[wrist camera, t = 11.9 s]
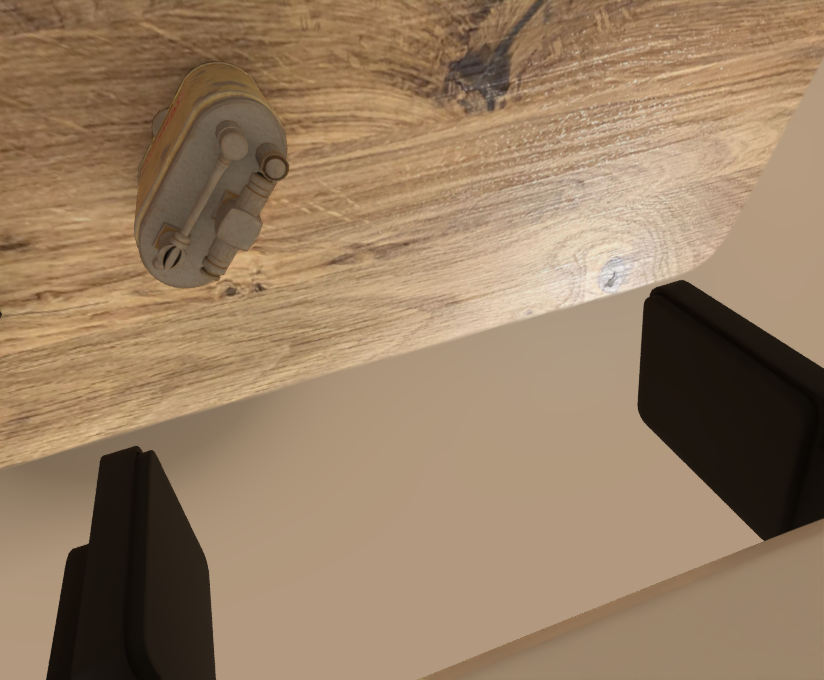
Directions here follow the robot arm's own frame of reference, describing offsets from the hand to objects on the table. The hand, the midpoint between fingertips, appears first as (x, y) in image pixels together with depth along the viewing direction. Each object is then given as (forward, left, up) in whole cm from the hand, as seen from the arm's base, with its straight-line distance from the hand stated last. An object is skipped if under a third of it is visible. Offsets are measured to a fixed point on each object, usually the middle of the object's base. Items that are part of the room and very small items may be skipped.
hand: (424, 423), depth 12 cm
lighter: (+3, -1, -21) cm, 21 cm away
